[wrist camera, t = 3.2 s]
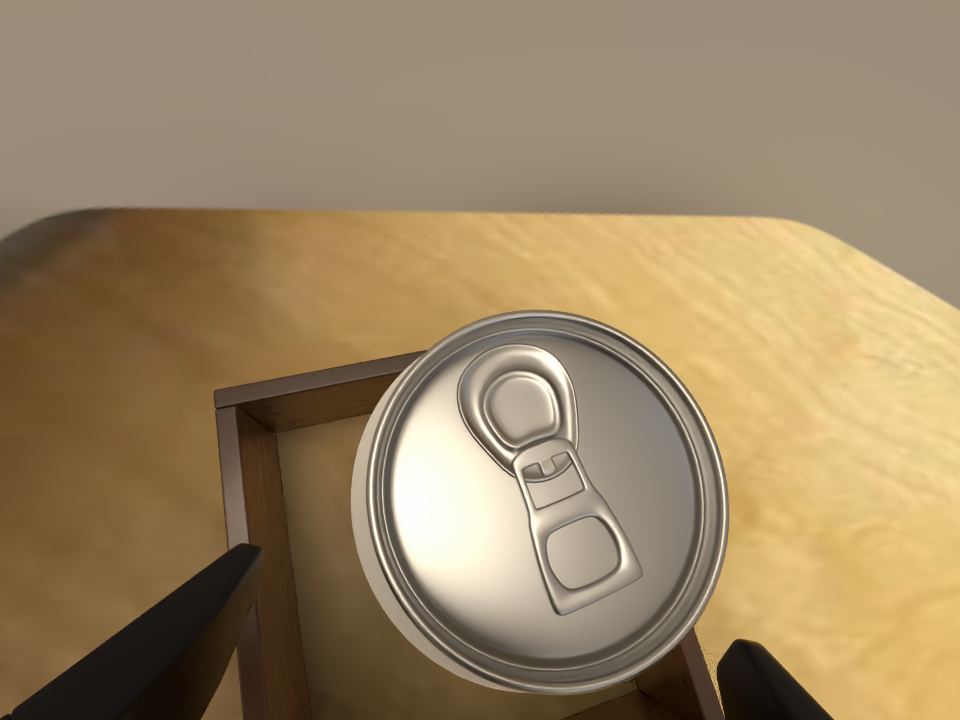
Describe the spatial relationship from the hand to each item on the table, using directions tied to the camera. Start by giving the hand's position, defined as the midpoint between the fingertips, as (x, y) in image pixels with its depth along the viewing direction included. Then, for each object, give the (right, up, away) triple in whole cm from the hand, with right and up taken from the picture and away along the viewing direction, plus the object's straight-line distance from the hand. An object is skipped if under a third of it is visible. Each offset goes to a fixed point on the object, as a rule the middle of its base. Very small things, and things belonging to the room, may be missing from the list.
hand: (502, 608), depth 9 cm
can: (-1, -1, +10) cm, 10 cm away
